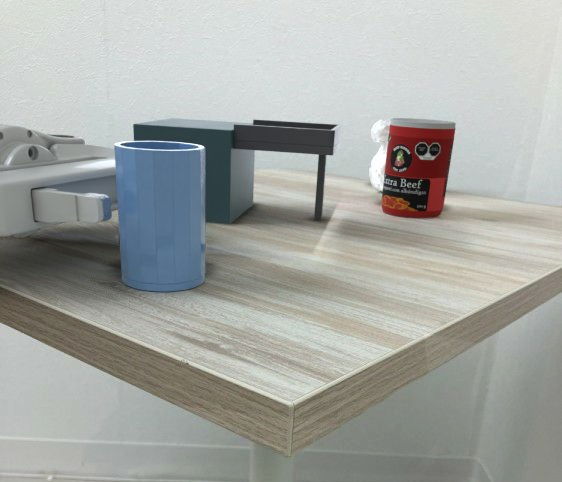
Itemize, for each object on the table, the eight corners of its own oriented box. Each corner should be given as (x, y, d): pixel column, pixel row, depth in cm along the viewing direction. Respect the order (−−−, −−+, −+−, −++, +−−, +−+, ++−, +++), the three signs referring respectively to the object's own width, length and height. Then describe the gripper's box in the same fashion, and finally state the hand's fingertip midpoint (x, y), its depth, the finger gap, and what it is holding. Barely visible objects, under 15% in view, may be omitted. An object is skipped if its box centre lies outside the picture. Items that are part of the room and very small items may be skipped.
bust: (398, 201, 103) (363, 138, 102) (440, 175, 99) (404, 109, 98) (373, 212, 93) (334, 143, 92) (418, 184, 89) (378, 111, 88)
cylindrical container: (108, 287, 48) (99, 146, 44) (139, 265, 54) (133, 139, 50) (191, 295, 47) (189, 152, 43) (213, 272, 53) (214, 144, 49)
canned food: (368, 210, 82) (377, 118, 78) (404, 205, 87) (415, 118, 83) (418, 221, 77) (431, 123, 73) (453, 214, 82) (468, 122, 78)
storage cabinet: (137, 225, 68) (132, 118, 64) (173, 205, 79) (171, 113, 74) (325, 241, 65) (334, 131, 61) (335, 218, 76) (343, 124, 72)
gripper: (-120, 149, 43) (40, 170, 38) (83, 134, 60) (211, 147, 56) (-101, 243, 46) (51, 273, 41) (88, 203, 63) (211, 220, 58)
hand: (145, 200), depth 48 cm, fingers open, 8 cm apart
